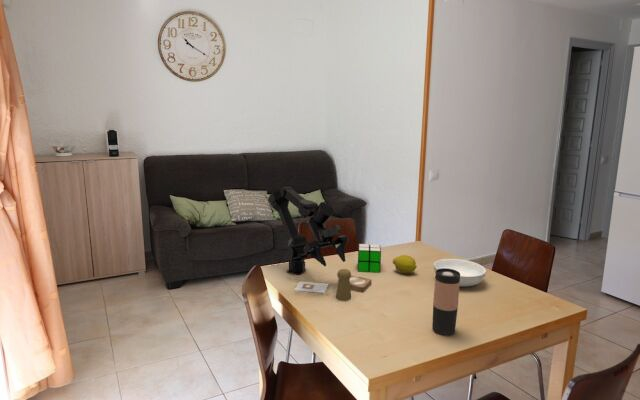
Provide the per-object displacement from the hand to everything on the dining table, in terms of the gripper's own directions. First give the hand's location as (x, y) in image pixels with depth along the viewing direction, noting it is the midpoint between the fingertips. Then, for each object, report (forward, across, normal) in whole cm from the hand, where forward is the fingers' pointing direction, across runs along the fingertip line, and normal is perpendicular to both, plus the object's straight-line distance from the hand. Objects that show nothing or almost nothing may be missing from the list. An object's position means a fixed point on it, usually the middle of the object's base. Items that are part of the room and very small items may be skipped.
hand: (335, 263), depth 170 cm
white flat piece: (+2, -5, +15) cm, 16 cm away
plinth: (+8, +11, +9) cm, 16 cm away
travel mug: (+40, +11, -22) cm, 47 cm away
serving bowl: (+23, +50, -5) cm, 55 cm away
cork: (+12, 0, +5) cm, 13 cm away
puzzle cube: (-1, +30, +18) cm, 35 cm away
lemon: (+8, +39, +9) cm, 41 cm away
